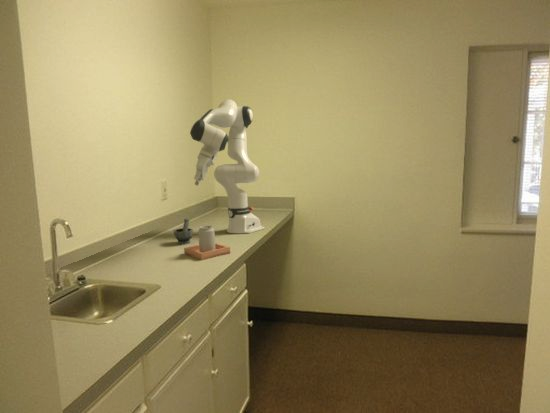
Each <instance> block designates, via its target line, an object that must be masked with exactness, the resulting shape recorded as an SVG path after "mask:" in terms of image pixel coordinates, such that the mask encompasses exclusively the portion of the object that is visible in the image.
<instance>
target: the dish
mask: <svg viewBox="0 0 550 413" xmlns="http://www.w3.org/2000/svg"><path fill="white" fill-rule="evenodd" d="M183 250H184V251H183V252H184V253H183V254H184V255H186V256H189V257H192V258H195V259H198V260H201V261H205V260H208V258H209V259H212V258H216V256H217V257H220V255H221V256H224V255H229V254H231V247H230V246H228V245H224V244H222V243H218V242H215V250H212V251H207V252H203V253H202V252H201V251H199V244H196V245H191V246H190V245H189V246H185V247H183Z"/></svg>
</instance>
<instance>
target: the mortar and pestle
mask: <svg viewBox="0 0 550 413" xmlns="http://www.w3.org/2000/svg"><path fill="white" fill-rule="evenodd" d="M189 224H190V219H189V218H185V219H184V221H183V227H182V228H177V229H175V230H173V234H174V235H173V236H174V237H175V240H177V244H178V245H188V244H191V239H192V238H193V235H194V233H193V232H194V229H193V228H189Z"/></svg>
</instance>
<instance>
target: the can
mask: <svg viewBox="0 0 550 413" xmlns="http://www.w3.org/2000/svg"><path fill="white" fill-rule="evenodd" d="M198 228H199V229H198V230H197V231H198V232H197V234H198V245H199V251H201V252H202V253H203V252H207V251H212V250H215V243H216V237H215V236H216V234H215V229H214V227H213V225H202V226H201V225H200V226H199V227H198Z"/></svg>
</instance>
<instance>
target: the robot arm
mask: <svg viewBox="0 0 550 413" xmlns="http://www.w3.org/2000/svg"><path fill="white" fill-rule="evenodd" d="M253 114H254V113H253V111H252V108H251V107H250V106H248V105H246V106H245V105H243V106H238V105H237V103H236V101H234V100H233V99H231V98H230V99H228V98H227V99H224V100H223V101H222V102H220V104H219V106H218V107H216V108H212V109H208V111H206V112H205V113H204V115H202V116H201V118H199V119H198V120H196V121H195V122H194V123H193V125H192V126H191V128H190V132H189V134H190V137H191V139H192V140H193V141H196V142H199V143H201V144H203V146H202V147H201V149H200V151H199V153H198V155H197V162H196V165H195V168H196V172H195V175H194V177H193V178H194V180H195V182H194V185H195V186H199V185H200V182H201V181H204V180H205V179H206V178H205V177H206V175H207V173H208V170H209V168H210V167H211V166H213V165H215V163H216V160H217V159H218V154H219V152H222V151H225V148H226V146H227V156H228V157H229V158H230V159H232V160H234V161H236V162H237V163H230V164H229V163H227V164H221V165H217V166H216V167H215V169H214V171H213V172H214V173H213V177H214V179H215V180H216V182H217V183H218V184H220V185H221V187H223V189H224V190H225V192H226V194H227V201H228V202H227V203H228V208H227V213H228V225H227V230H226V232H227V233H229V234H251V233H252V234H253V233H255V232H258V231H261V230H264V229H265V226H264V225H261V220H260V218H259V217H258V216H256V215H255V214H253V213H252V211H254V210H255V208H254V206H249V201H248V198H249V197H248V193H247V192H246V190H243V189H242V188H239V187H238V186H237V184H248V183H249V184H250V183H254V182H257V180H258V179H259V177H260V169H259V167H258V166H257V165H256V164H255V163H254V162H253V161H252V160H251V159H250V157H249V155H248V147H247V146H248V140H247V138H248V137H247V131H246V129H248V127H249V126H250V125H251V124H252V122H253V117H254V115H253ZM213 125H214V126H213ZM215 126H216V127H215ZM226 128H229V130H228V134H227V133H226V132H225V131H224V130H223V129H226Z"/></svg>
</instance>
